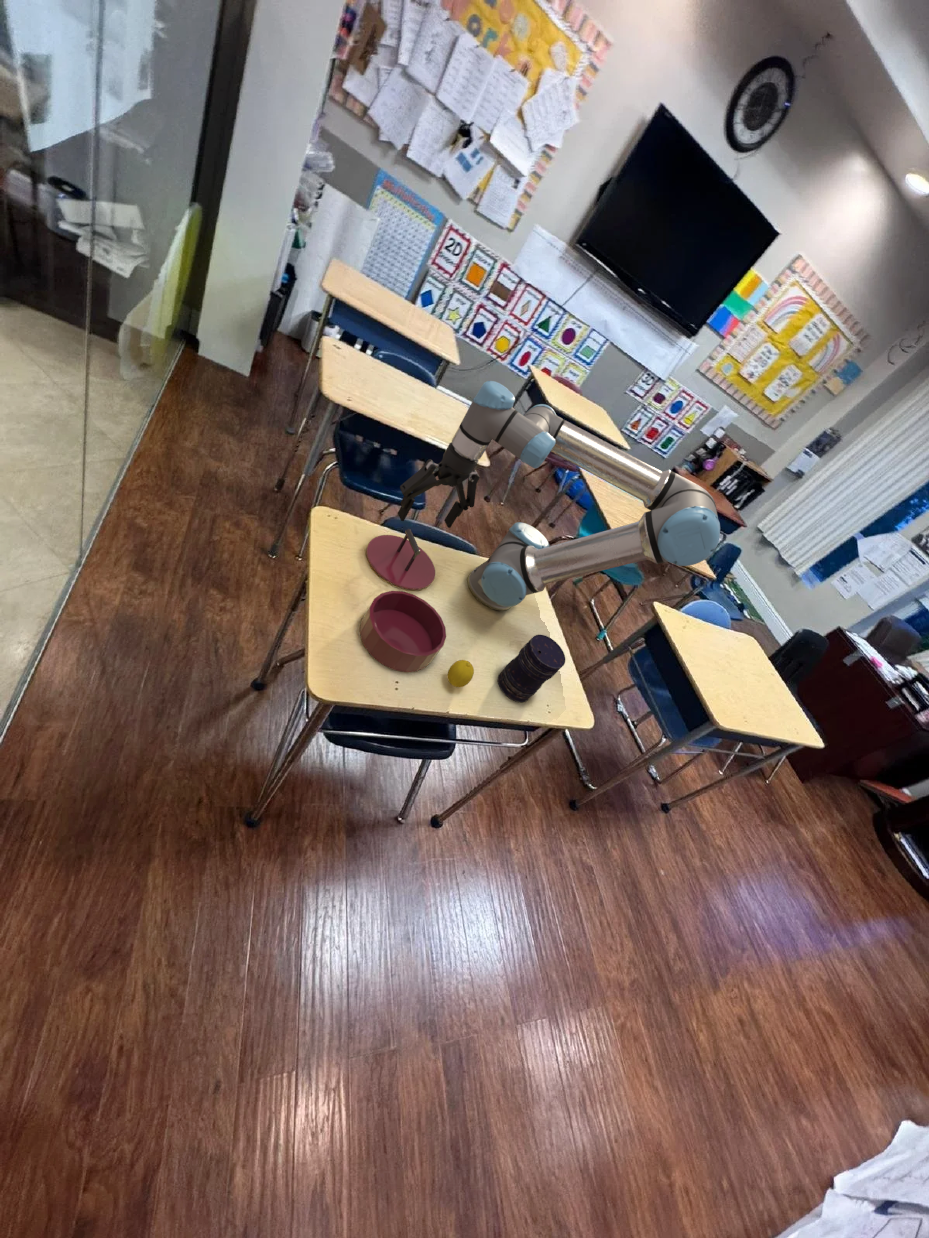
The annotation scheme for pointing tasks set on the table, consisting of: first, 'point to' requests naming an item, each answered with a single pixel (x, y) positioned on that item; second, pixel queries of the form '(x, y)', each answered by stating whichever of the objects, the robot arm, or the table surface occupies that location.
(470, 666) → the lemon
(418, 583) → the lid
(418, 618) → the pot
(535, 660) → the storage jar
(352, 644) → the table surface
